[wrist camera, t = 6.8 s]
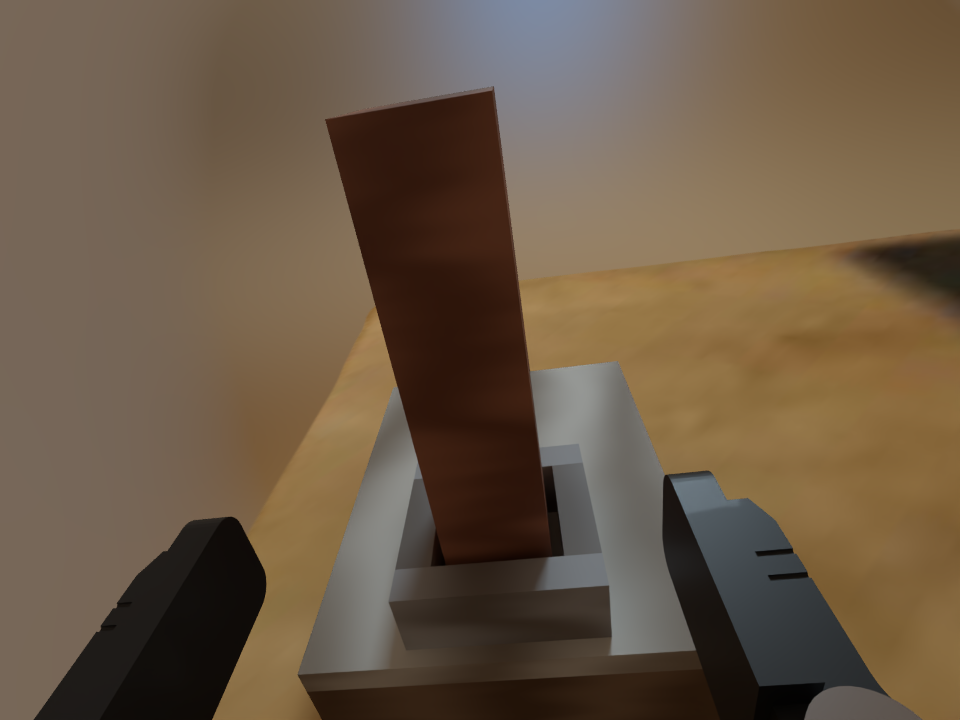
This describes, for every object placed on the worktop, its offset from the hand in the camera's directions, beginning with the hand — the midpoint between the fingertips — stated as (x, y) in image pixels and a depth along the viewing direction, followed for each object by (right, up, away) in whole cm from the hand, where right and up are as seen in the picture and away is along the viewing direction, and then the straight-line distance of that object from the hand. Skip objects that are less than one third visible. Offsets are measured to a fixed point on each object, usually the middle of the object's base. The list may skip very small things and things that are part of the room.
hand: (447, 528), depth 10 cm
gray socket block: (+3, -8, +18) cm, 20 cm away
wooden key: (+2, -5, +10) cm, 11 cm away
